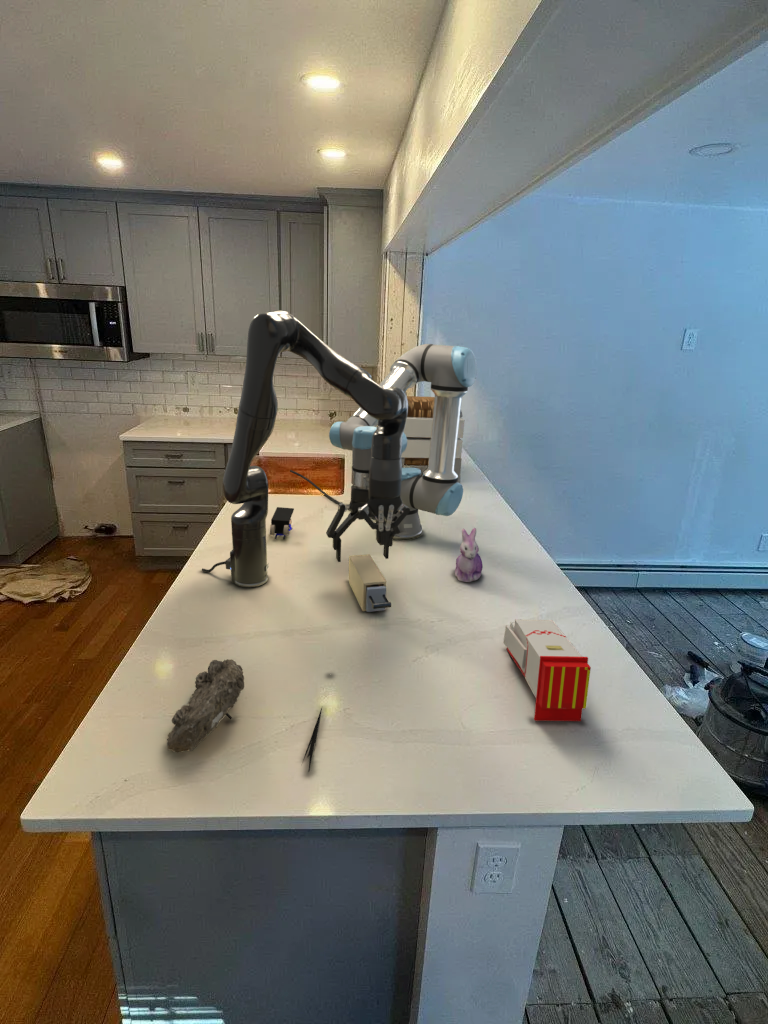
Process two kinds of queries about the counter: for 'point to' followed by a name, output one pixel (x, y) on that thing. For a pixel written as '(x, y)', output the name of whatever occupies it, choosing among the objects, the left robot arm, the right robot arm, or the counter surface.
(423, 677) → the counter surface
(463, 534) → the figurine
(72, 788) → the counter surface
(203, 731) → the fossil
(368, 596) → the drawer
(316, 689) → the counter surface
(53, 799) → the counter surface
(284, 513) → the figurine character
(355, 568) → the cabinet
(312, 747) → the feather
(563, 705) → the toy
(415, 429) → the grey slatted crate
